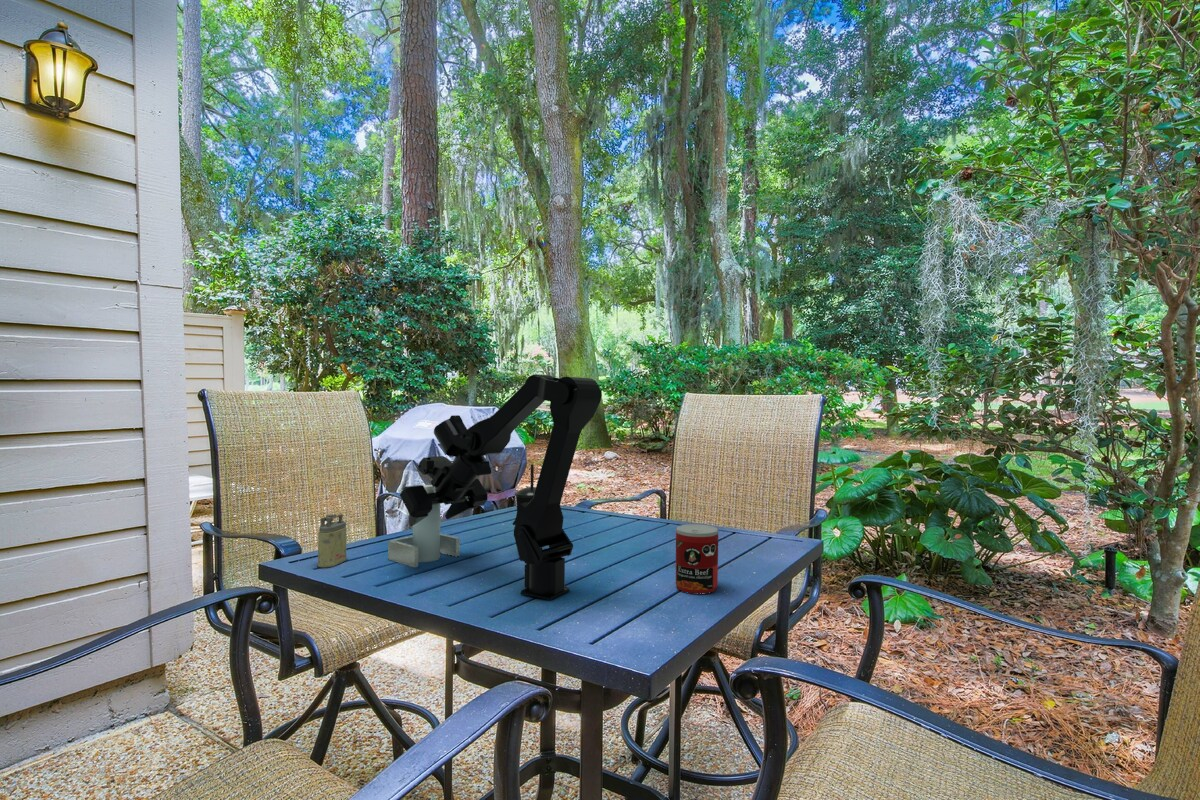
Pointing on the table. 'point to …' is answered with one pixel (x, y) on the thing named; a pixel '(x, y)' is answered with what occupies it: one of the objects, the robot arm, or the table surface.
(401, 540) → the hook bracket
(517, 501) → the drinking cup
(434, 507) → the bottle
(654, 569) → the table surface
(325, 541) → the lighter
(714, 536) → the canned food
